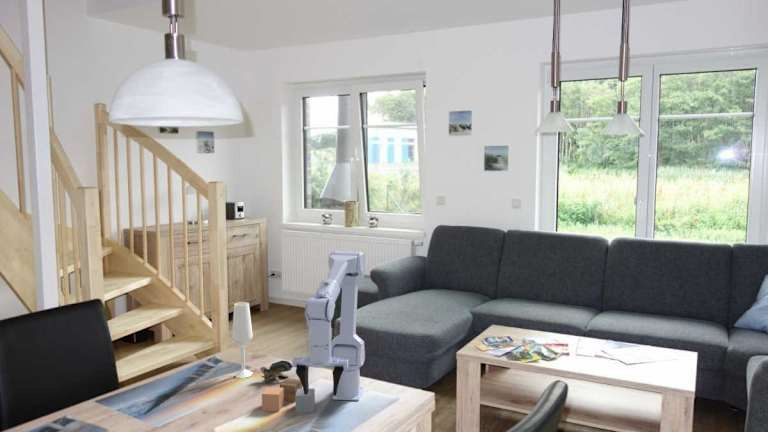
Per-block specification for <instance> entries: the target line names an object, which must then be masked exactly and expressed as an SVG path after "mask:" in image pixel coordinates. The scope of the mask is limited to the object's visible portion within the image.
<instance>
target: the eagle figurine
mask: <svg viewBox="0 0 768 432" xmlns="http://www.w3.org/2000/svg"><path fill="white" fill-rule="evenodd" d="M292 368H293V367H292V362H290V361H287V360H279V361H276V362H273V363H271V364H270V366H269V369H268V368H267V367H266V366H261V367H259V371H261V373H262V374H263V375H261V378H263V379H264V381H263V382H264V384H267V382H268V381H269V379H270V378H272V379H274V380H275V381H276V382H278V383H280V378H279V376H280V377H285V378H289V375H285V374H284V373H285V372H289V371H291V370H292Z"/></svg>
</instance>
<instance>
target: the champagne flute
mask: <svg viewBox="0 0 768 432" xmlns="http://www.w3.org/2000/svg"><path fill="white" fill-rule="evenodd" d="M251 316H252V315H251V310H250V303H249V302H246V301H239V302H235V303H234V304H233V315H232V328H231V329H232V332H231V338H232V339H231V340H232V341H233V342H234V343H235V344H236V346H238V347H240V363H241V364H240V365H241V367H240V368H241V369H240V370H238V371H236V372H235V373H234V374H233V375H235V376H236V377H240V378H244V379H246V378H245V377H249V376H251V375H252V374H253V373H254V372H252V371H250V370H248V369H246V360H245V359H246V356H245V355H246V353H245V351H246V350H245V349H246V347H247V345H249V343H251V342H252V341H251V340H252V339H253V337H254V333H253V327H252V317H251ZM249 378H250V377H249Z"/></svg>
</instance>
